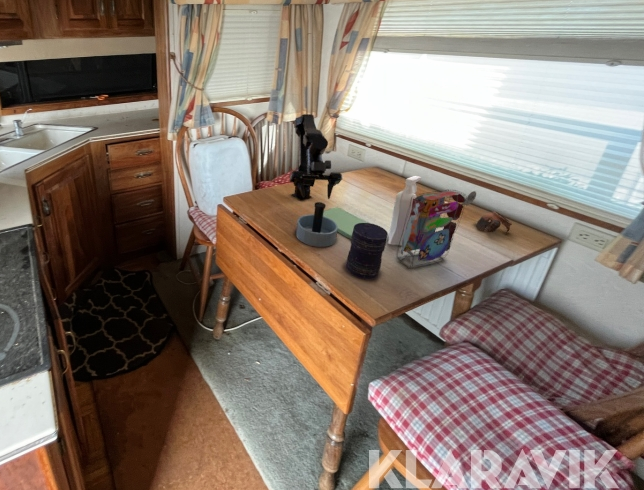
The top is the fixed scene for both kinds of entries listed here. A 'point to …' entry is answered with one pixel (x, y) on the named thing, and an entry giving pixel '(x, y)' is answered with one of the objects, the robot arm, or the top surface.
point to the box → (432, 224)
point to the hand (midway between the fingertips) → (316, 198)
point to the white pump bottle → (402, 211)
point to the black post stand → (317, 218)
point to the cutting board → (343, 220)
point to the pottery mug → (493, 222)
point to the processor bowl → (314, 238)
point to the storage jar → (366, 250)
